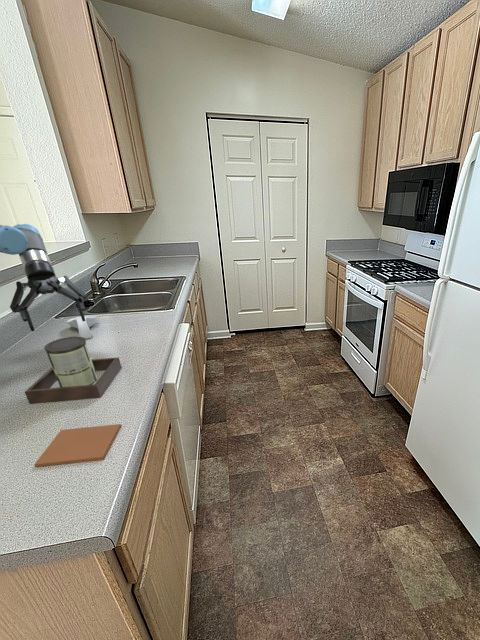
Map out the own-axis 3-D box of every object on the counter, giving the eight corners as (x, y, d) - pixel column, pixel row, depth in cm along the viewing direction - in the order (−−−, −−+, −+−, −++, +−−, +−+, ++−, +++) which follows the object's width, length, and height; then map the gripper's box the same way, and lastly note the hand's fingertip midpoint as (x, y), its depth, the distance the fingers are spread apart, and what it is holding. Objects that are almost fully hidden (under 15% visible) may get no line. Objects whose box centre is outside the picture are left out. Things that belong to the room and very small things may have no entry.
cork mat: (35, 467, 72) (34, 464, 72) (62, 432, 83) (61, 429, 82) (103, 459, 74) (102, 456, 74) (121, 426, 84) (120, 423, 84)
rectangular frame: (29, 403, 94) (24, 391, 93) (62, 372, 111) (58, 361, 109) (100, 397, 97) (96, 385, 95) (121, 367, 114) (118, 357, 112)
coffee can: (53, 388, 102) (36, 346, 96) (85, 373, 110) (71, 334, 104) (74, 395, 98) (57, 352, 92) (105, 380, 106) (92, 339, 100)
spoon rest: (68, 325, 152) (63, 310, 149) (97, 320, 158) (93, 306, 154) (71, 342, 134) (65, 325, 131) (103, 335, 140) (99, 319, 137)
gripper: (83, 269, 118) (103, 320, 114) (-7, 281, 104) (12, 339, 100) (81, 256, 112) (102, 309, 108) (-16, 266, 98) (4, 327, 94)
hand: (58, 324), depth 104 cm, fingers open, 13 cm apart
